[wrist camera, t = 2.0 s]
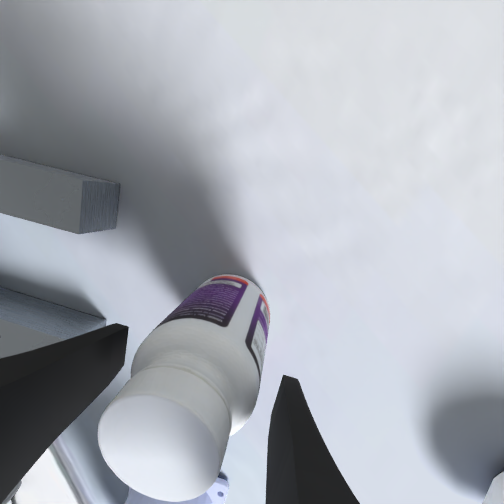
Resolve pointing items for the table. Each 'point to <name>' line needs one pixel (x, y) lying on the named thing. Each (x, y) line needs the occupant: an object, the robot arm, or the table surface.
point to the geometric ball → (495, 491)
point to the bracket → (58, 216)
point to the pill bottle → (188, 391)
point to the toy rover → (11, 494)
